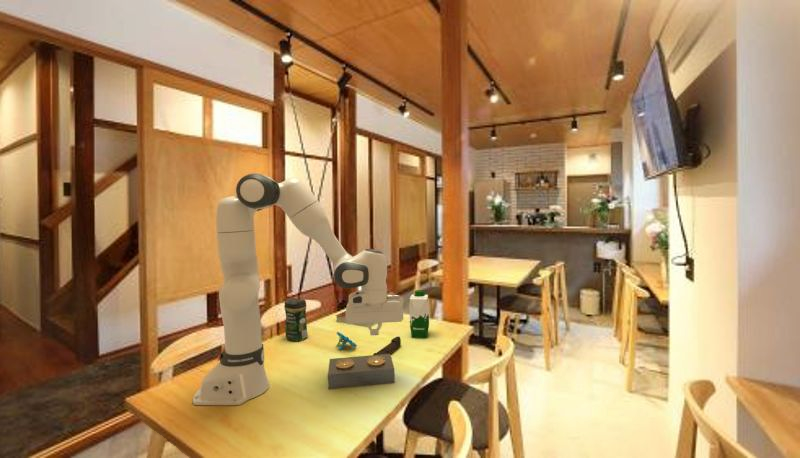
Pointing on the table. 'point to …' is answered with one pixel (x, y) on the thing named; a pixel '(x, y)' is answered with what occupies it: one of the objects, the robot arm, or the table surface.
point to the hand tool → (390, 347)
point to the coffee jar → (295, 319)
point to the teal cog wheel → (344, 340)
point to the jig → (359, 372)
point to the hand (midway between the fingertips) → (374, 334)
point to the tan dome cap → (376, 361)
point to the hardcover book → (342, 318)
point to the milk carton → (419, 314)
